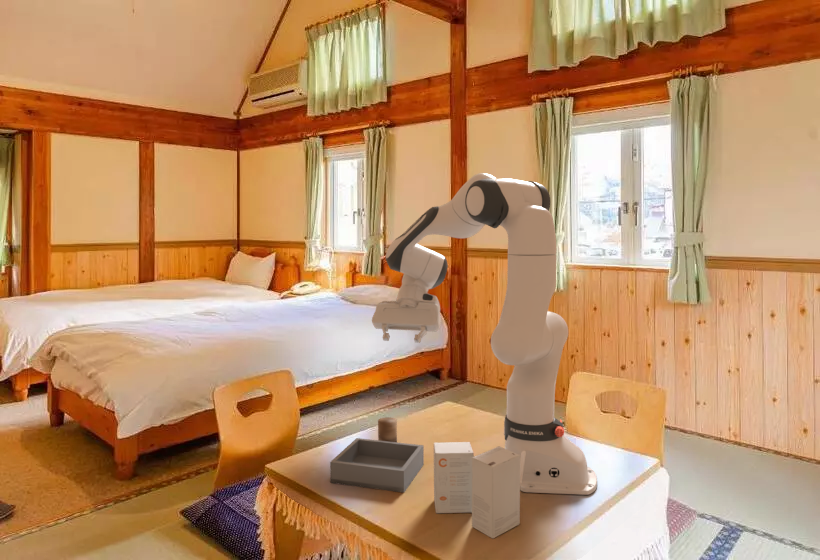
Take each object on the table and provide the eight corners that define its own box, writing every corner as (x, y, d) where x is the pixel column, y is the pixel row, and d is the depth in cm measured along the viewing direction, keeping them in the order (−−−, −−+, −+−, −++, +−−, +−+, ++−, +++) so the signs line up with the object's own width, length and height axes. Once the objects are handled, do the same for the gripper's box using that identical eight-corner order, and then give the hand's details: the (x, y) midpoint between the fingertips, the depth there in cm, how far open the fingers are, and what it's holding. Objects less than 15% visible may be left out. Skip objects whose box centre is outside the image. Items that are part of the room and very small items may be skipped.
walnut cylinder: (399, 447, 156) (399, 418, 156) (393, 453, 152) (393, 424, 151) (382, 445, 158) (381, 416, 157) (375, 451, 153) (375, 422, 152)
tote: (423, 464, 145) (423, 445, 144) (404, 492, 129) (403, 471, 129) (356, 456, 150) (356, 438, 149) (330, 482, 135) (330, 461, 134)
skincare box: (498, 514, 119) (499, 444, 118) (521, 526, 115) (522, 453, 113) (470, 528, 114) (470, 455, 113) (492, 540, 109) (493, 464, 108)
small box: (470, 499, 126) (470, 441, 125) (474, 513, 120) (474, 452, 119) (433, 499, 126) (433, 441, 125) (435, 513, 120) (434, 453, 119)
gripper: (375, 294, 173) (364, 332, 165) (441, 296, 167) (433, 336, 159) (380, 307, 178) (369, 344, 169) (445, 309, 172) (437, 348, 163)
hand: (401, 340), depth 164 cm, fingers open, 8 cm apart
